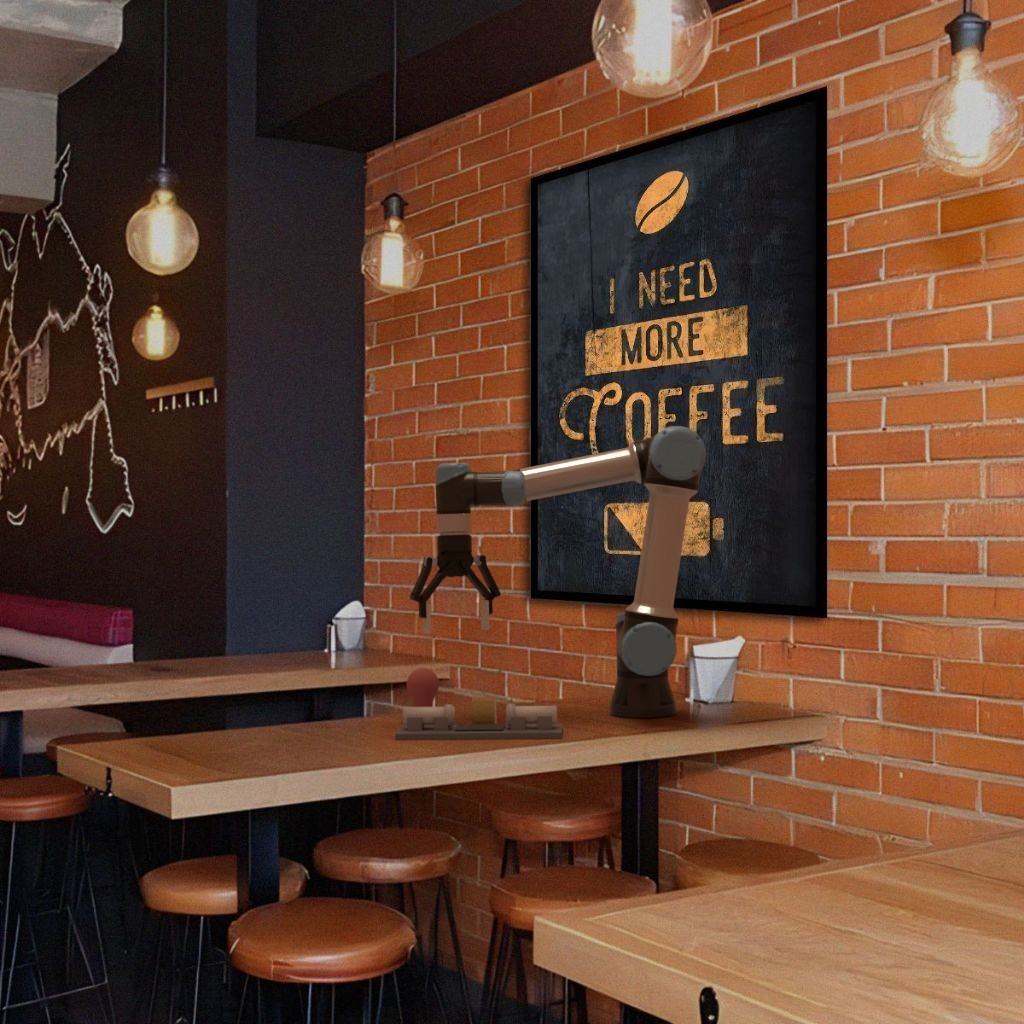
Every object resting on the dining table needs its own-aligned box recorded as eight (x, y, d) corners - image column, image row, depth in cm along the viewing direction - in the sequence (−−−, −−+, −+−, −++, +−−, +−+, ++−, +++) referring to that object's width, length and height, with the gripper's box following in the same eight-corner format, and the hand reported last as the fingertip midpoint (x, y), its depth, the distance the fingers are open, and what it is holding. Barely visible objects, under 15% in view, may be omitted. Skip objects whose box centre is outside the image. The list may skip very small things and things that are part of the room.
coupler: (496, 724, 292) (496, 696, 292) (494, 728, 286) (494, 700, 286) (474, 724, 292) (473, 697, 292) (471, 728, 286) (471, 700, 286)
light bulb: (441, 719, 299) (440, 666, 299) (436, 724, 292) (435, 669, 292) (410, 719, 299) (409, 666, 299) (404, 724, 292) (403, 670, 292)
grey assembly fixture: (562, 729, 283) (562, 699, 283) (561, 738, 271) (561, 707, 271) (403, 730, 285) (402, 700, 285) (395, 739, 273) (394, 708, 273)
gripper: (500, 532, 299) (502, 627, 299) (394, 535, 289) (396, 633, 289) (513, 532, 292) (515, 629, 292) (405, 535, 282) (407, 636, 282)
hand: (456, 631), depth 290 cm, fingers open, 13 cm apart
